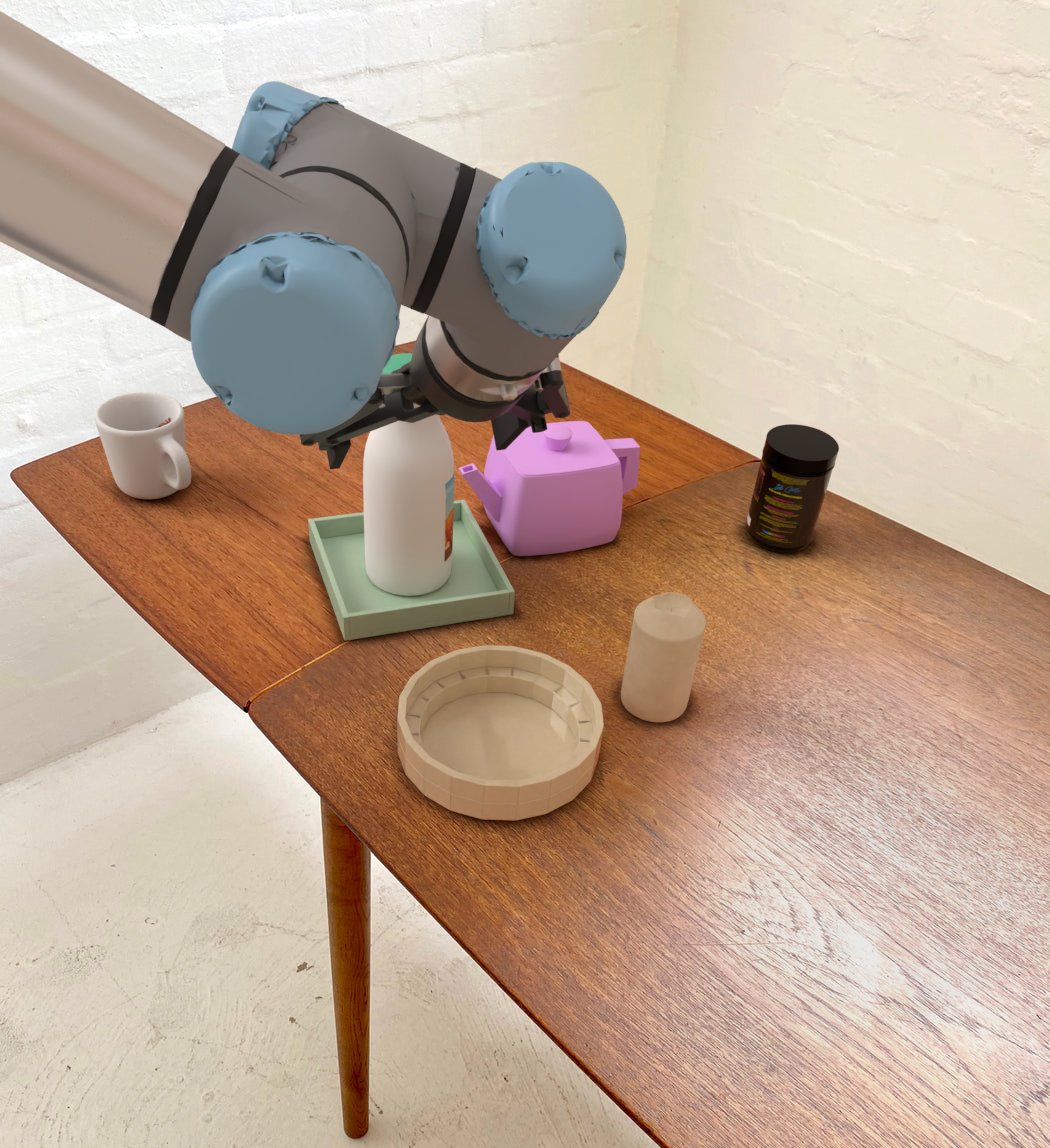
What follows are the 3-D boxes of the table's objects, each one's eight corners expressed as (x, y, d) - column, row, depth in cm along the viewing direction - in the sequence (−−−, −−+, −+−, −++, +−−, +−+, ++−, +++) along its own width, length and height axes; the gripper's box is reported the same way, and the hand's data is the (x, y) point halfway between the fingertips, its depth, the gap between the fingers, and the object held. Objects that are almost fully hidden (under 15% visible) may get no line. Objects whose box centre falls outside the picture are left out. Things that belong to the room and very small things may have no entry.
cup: (228, 500, 107) (218, 426, 102) (156, 531, 103) (142, 454, 97) (164, 456, 112) (152, 383, 107) (93, 483, 108) (76, 408, 102)
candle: (670, 732, 88) (692, 634, 81) (608, 706, 89) (624, 608, 83) (697, 693, 91) (720, 596, 84) (637, 669, 93) (655, 572, 86)
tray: (344, 641, 93) (343, 617, 91) (309, 541, 103) (307, 518, 102) (513, 614, 97) (515, 591, 96) (463, 521, 108) (464, 499, 106)
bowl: (428, 843, 78) (429, 804, 75) (377, 701, 88) (376, 662, 85) (627, 800, 82) (635, 762, 79) (556, 669, 92) (560, 632, 90)
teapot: (474, 570, 102) (479, 473, 95) (440, 509, 109) (442, 414, 102) (651, 542, 107) (667, 448, 100) (607, 485, 114) (620, 394, 107)
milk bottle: (432, 607, 96) (436, 395, 83) (350, 585, 98) (342, 373, 84) (464, 560, 102) (473, 354, 88) (386, 540, 103) (384, 334, 90)
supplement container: (816, 558, 107) (845, 463, 100) (747, 553, 107) (771, 457, 100) (806, 520, 112) (832, 427, 105) (739, 514, 112) (761, 421, 105)
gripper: (290, 426, 64) (266, 508, 84) (679, 387, 71) (571, 471, 92) (266, 298, 64) (248, 411, 84) (658, 272, 71) (554, 382, 92)
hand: (416, 442), depth 88 cm, fingers open, 13 cm apart
